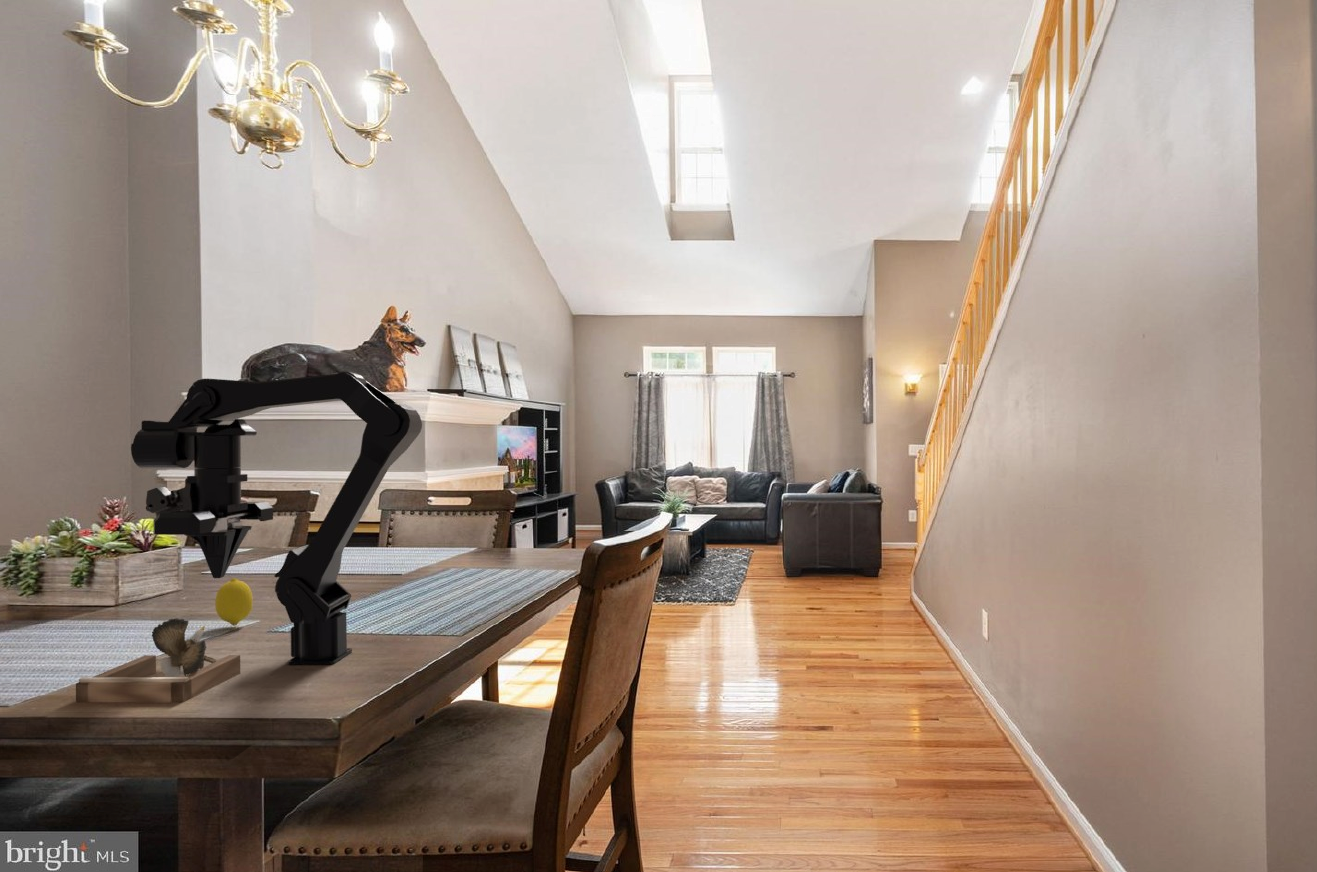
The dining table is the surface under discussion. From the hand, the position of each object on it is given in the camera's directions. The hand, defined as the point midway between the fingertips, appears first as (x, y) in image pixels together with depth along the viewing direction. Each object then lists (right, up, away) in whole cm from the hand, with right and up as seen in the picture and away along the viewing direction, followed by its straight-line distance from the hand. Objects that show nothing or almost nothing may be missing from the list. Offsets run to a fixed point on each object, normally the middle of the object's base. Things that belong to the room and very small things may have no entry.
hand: (218, 577), depth 106 cm
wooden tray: (0, -12, -11) cm, 16 cm away
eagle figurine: (0, -9, -6) cm, 11 cm away
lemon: (-9, -12, +20) cm, 25 cm away
